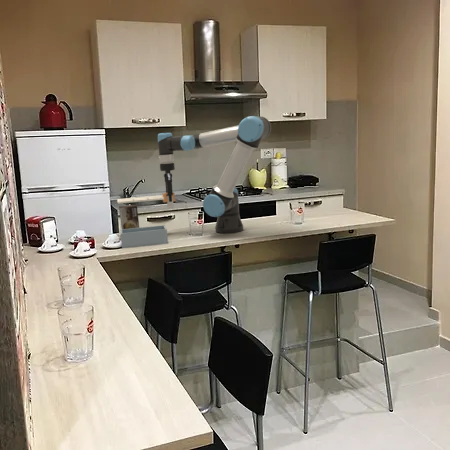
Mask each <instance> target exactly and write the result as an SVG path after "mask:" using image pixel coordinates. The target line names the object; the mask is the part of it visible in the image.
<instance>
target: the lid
mask: <svg viewBox="0 0 450 450" xmlns="http://www.w3.org/2000/svg"><path fill="white" fill-rule="evenodd" d="M166 195H167V193H166V192H163V193H162V194H160V195H151V196H150V195H146V196H137V197H134V196H132V197H127V198H126V197H125V198H117V204H129V203H141V202H150V201H151V202H153V201H162V203H167V202H168V198H167V196H166ZM174 202H176V196H175V192H174V191H173V203H174Z"/></svg>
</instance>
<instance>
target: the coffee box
mask: <svg viewBox="0 0 450 450" xmlns="http://www.w3.org/2000/svg"><path fill="white" fill-rule="evenodd" d="M118 208H119V209H118V210H119V211H118V212H119V218H120V227H121V229H131V228H140V221H139V211H138V205H137V204H128V205H120V206H119V207H118Z"/></svg>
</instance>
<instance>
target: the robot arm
mask: <svg viewBox="0 0 450 450" xmlns="http://www.w3.org/2000/svg"><path fill="white" fill-rule="evenodd" d="M271 131H272V124H271V122H270V121H269V120H268V118H266V117H264V116H257V115H251V116H246V117H245V118H243V119H242V120H241V121H240V122H239V124H238V125H233V126H228V127H224V128H221V129H219V128H218V129H216V130H210V131H205V132H201V133H196V134H191V135H189V134H188V135H177V136H176V135H175V136H174V135H173V133H172V132H161V133H158V134H157V146H158V156H157V159H158V160H159V163H160V164H159V171H161V172H164V174H163V178H164V182H165V193H167V195H166V196H167V198H168V202H166V206H167V208H168V209H174V208H175V207H174V202H173V192H174V191H173V179H172V178H173V173H171V171H175V170H176V169H175V156H174V155H175V154H174V152H180V151H181V152H182V151H183V152H184V151H185V152H188V151H189V152H190V151H192V150H199V149H201V148H207V147H212V146H217V145H222V144H229V143H232V142H236V144H235V146H234V148H233V151H232V153H231V155H230V157H229V160H228V161H227V164H226V166H225V168H224V170H223V172H222V173H221V176H220V178H219V181H217V184H215V185H213V186H212V188H211V189H210V192H209V194H208V195H206V196H204V198H203V201H202V207H203V210H204V212H205V213H206V214H207V215H208V216H210V217H214V218H217V220H216V223H215V227H214V229H215V230H214V231H215V233H219V234H233V233H239V232H242V231H244V224H243V221H242V220H241V216H240V204H239V203H240V202H239V192H238V189H237V187H236V186H237V185H238V182H239V180H240V178H241V176H242V174H243V172H244V169H245V167H246V165H247V164H248V162H249V159H250V157H251V155H252V153H253V151H255V150H257V149H258V148H259V146H260V144H261V142H262V140H265V139H267V138H268V137H269V136H270V134H271Z"/></svg>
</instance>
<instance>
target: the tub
mask: <svg viewBox="0 0 450 450" xmlns="http://www.w3.org/2000/svg"><path fill="white" fill-rule="evenodd" d="M120 241H121V248H122V249H127V248H128V249H129V248H137V247H138V248H139V247H147V246H155V245H165V244H168V243H169V241H168V229H167V227H166V225H154V226H144V227H139V228H131V229H122V228H121V229H120Z"/></svg>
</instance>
